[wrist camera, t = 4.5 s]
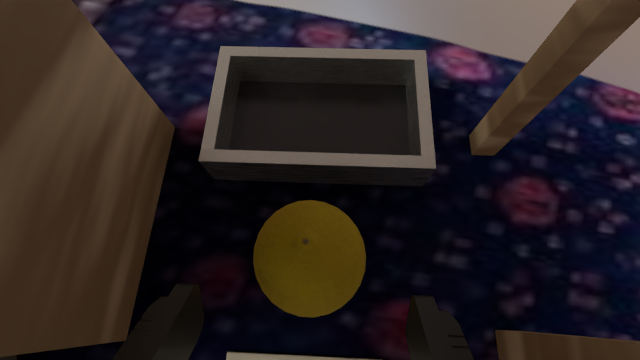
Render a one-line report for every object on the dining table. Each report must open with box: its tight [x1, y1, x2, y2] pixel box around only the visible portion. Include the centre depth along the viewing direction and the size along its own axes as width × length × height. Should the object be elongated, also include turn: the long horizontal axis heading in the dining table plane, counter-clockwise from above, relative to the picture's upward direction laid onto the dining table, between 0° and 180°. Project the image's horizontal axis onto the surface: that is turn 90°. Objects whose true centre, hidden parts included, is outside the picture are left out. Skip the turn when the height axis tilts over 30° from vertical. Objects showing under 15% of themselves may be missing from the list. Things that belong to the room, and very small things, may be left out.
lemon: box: [253, 200, 366, 317], centre depth 17 cm, size 6×6×8 cm
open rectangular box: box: [199, 46, 436, 187], centre depth 23 cm, size 14×9×3 cm, turn 87°
